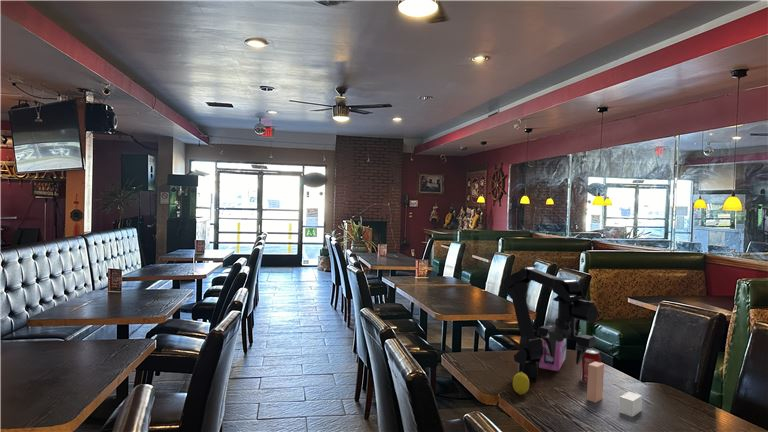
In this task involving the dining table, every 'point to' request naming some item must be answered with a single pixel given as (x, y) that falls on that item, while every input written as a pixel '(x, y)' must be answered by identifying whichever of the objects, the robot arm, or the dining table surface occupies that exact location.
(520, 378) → the lemon
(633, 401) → the white long block
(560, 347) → the gum box
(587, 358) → the soda can
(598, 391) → the stub
